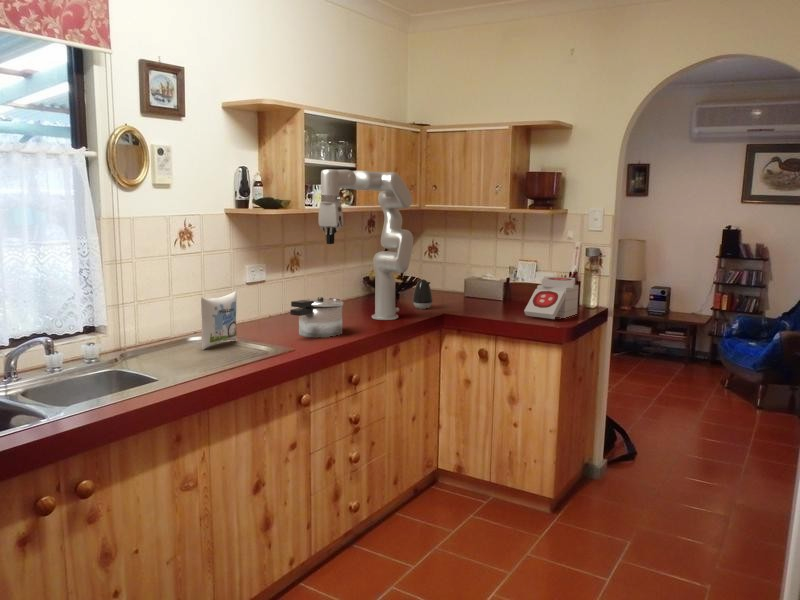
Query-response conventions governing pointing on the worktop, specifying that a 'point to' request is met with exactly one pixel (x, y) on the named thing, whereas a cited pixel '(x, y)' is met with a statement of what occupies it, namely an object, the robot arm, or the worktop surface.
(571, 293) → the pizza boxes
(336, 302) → the cooker lid
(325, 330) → the cooker pot
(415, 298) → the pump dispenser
